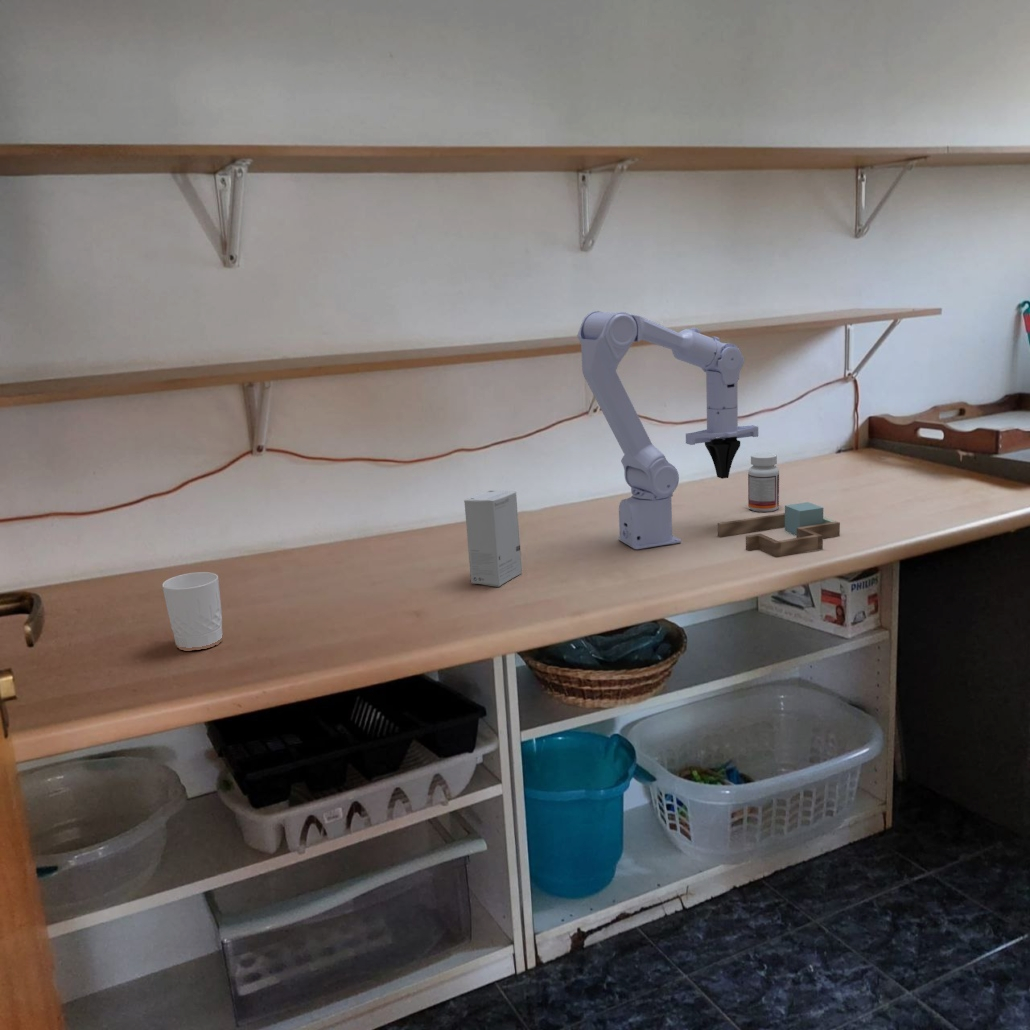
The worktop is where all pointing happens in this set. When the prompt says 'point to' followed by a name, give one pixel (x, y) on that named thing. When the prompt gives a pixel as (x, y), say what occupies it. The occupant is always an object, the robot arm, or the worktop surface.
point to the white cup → (194, 608)
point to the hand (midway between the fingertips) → (722, 477)
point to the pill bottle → (763, 483)
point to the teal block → (802, 516)
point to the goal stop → (827, 520)
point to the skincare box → (493, 537)
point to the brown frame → (805, 541)
